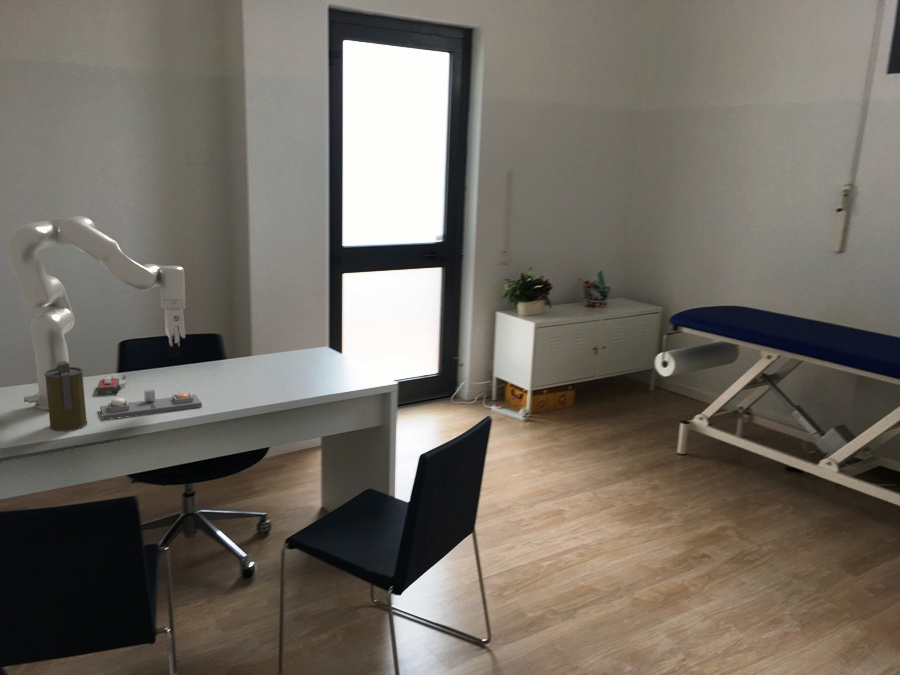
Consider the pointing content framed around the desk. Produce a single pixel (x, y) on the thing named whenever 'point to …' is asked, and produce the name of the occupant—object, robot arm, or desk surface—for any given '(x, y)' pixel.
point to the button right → (182, 395)
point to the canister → (66, 397)
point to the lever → (149, 395)
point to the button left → (118, 402)
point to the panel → (150, 406)
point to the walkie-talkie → (110, 385)
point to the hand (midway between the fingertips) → (174, 357)
